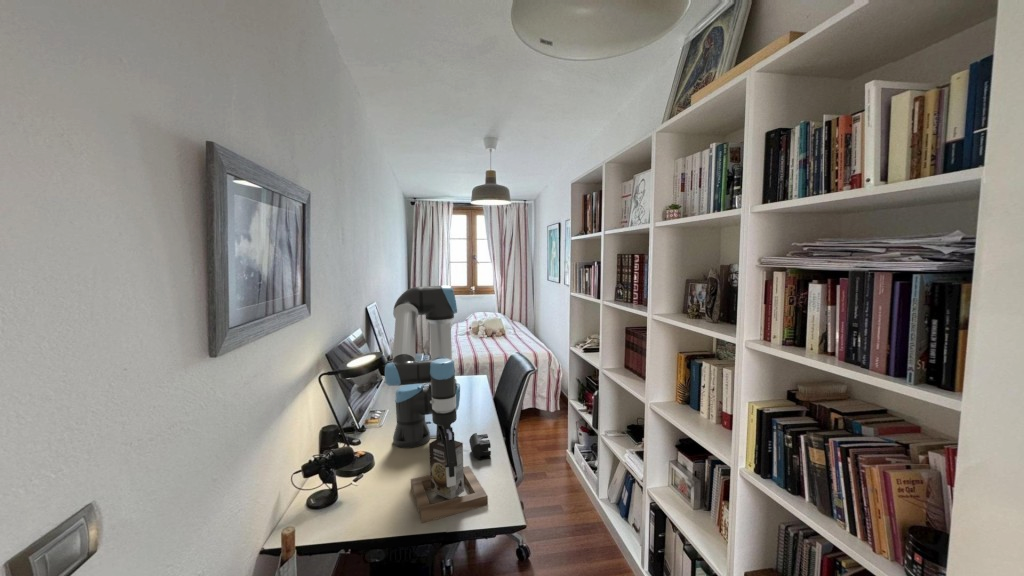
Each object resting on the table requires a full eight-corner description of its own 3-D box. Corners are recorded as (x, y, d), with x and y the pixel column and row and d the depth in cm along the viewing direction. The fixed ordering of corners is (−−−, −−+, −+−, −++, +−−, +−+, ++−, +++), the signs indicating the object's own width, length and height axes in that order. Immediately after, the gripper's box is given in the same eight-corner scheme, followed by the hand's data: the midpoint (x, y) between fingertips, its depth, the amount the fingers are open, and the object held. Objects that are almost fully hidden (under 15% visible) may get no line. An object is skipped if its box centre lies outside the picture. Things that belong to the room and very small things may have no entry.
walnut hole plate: (411, 487, 135) (410, 479, 135) (469, 473, 143) (468, 465, 143) (422, 523, 117) (421, 513, 117) (487, 505, 124) (487, 495, 124)
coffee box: (430, 492, 130) (427, 443, 129) (444, 482, 135) (442, 435, 134) (451, 501, 124) (449, 450, 123) (465, 491, 130) (463, 441, 129)
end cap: (469, 450, 161) (468, 433, 161) (487, 447, 163) (486, 431, 162) (472, 462, 151) (471, 444, 151) (491, 459, 153) (490, 442, 152)
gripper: (425, 399, 137) (428, 462, 139) (440, 424, 116) (443, 498, 117) (447, 396, 140) (449, 458, 141) (466, 419, 119) (468, 492, 120)
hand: (447, 476), depth 129 cm, fingers closed on coffee box, 11 cm apart
